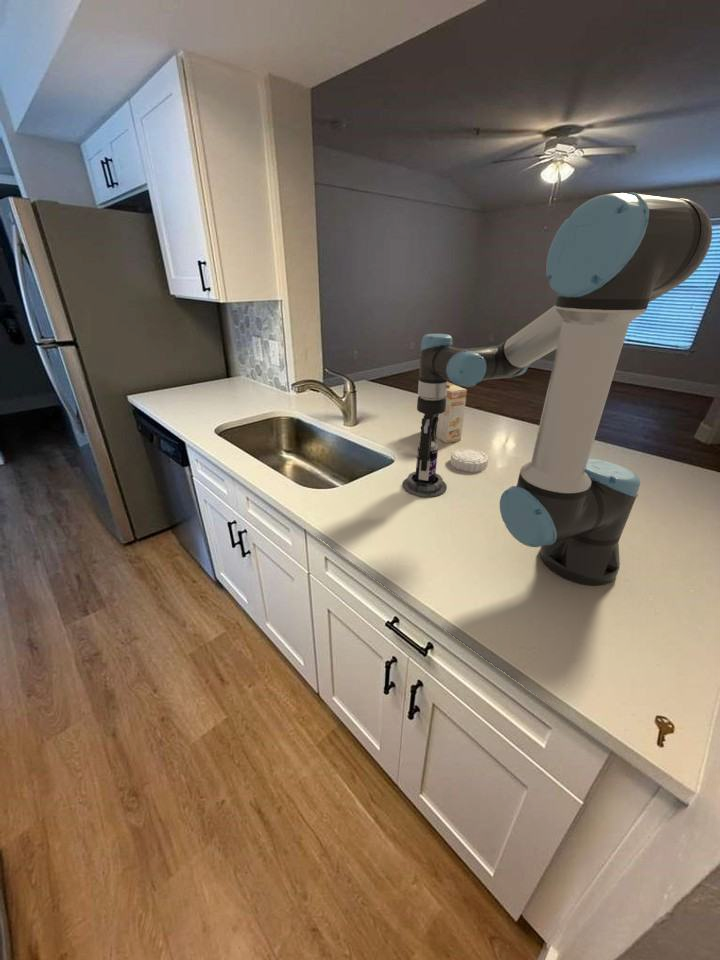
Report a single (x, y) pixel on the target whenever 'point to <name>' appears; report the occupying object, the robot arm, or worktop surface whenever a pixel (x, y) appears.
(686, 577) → the worktop surface
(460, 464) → the mooncake
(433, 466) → the beverage can
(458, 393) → the coffeecake box
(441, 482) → the ring collar
